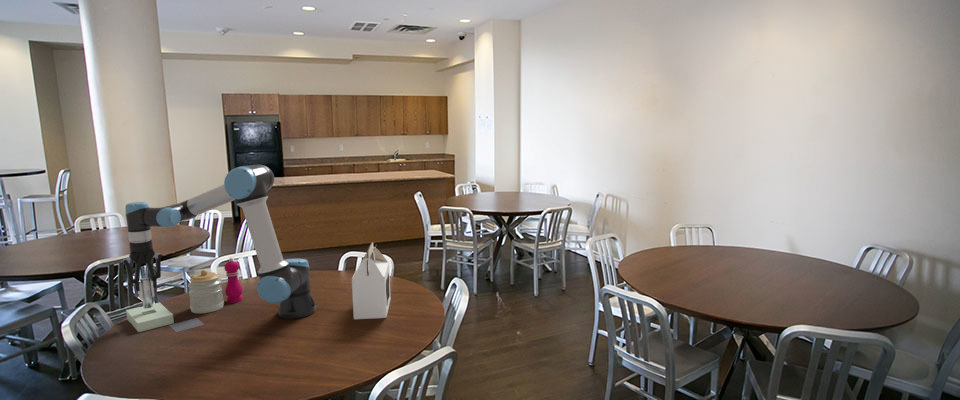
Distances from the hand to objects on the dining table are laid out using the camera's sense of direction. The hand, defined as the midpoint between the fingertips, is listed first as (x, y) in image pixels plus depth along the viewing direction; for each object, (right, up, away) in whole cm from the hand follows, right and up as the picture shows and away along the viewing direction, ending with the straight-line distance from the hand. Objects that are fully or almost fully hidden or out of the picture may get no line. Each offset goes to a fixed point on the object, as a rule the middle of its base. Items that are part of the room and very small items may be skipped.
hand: (147, 296), depth 199 cm
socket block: (0, -10, +2) cm, 11 cm away
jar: (+16, -8, +15) cm, 24 cm away
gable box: (+89, -8, +13) cm, 90 cm away
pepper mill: (+23, -7, +25) cm, 35 cm away
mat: (+18, -11, -3) cm, 21 cm away
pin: (0, -4, +1) cm, 4 cm away
